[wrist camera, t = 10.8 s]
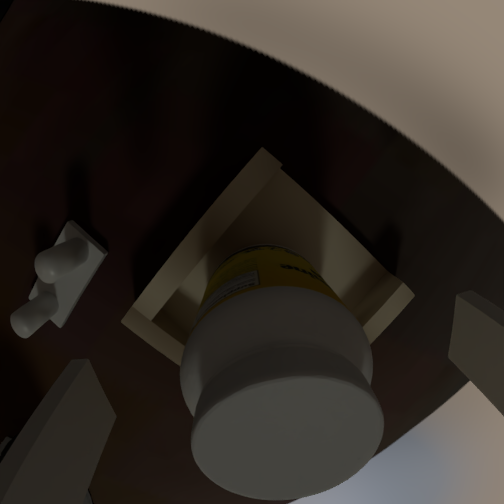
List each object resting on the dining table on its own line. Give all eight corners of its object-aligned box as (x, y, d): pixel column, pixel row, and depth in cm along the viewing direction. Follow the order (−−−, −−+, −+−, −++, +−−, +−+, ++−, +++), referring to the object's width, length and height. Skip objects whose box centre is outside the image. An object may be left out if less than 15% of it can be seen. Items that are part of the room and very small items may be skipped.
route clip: (33, 295, 17) (-1, 318, 13) (72, 219, 16) (34, 232, 12) (64, 324, 18) (34, 353, 14) (108, 252, 17) (76, 272, 13)
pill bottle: (340, 305, 17) (440, 440, 6) (252, 365, 18) (261, 530, 7) (276, 216, 16) (340, 276, 5) (182, 286, 17) (106, 427, 6)
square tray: (274, 400, 20) (278, 425, 17) (135, 302, 18) (120, 321, 15) (394, 280, 18) (414, 295, 15) (258, 151, 16) (262, 146, 13)
